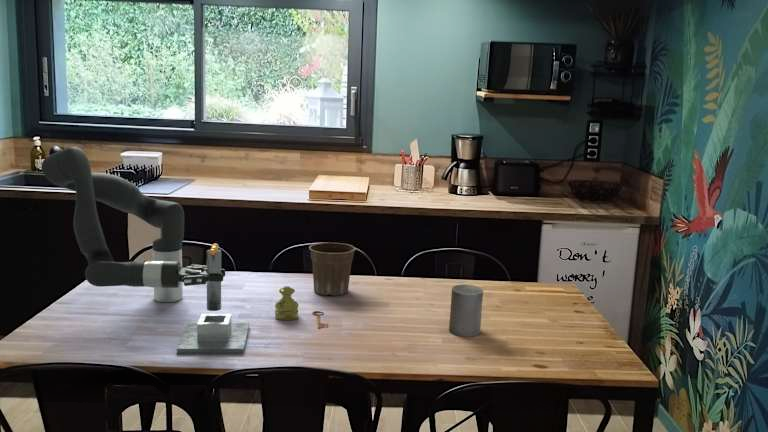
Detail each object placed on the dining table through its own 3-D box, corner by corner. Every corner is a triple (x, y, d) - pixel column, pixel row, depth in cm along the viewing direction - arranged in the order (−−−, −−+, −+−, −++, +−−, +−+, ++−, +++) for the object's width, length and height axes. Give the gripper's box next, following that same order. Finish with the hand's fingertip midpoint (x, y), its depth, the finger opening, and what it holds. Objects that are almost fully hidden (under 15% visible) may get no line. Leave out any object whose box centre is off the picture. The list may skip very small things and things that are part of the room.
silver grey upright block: (208, 303, 213) (208, 242, 209) (222, 303, 213) (222, 242, 210) (204, 313, 204) (204, 249, 201) (219, 313, 205) (219, 250, 201)
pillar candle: (443, 327, 228) (446, 281, 225) (470, 324, 232) (473, 279, 229) (458, 339, 220) (461, 291, 216) (486, 335, 223) (489, 288, 220)
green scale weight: (288, 311, 238) (289, 282, 236) (303, 317, 233) (303, 287, 231) (270, 316, 233) (270, 286, 231) (284, 322, 227) (284, 291, 225)
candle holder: (188, 328, 220) (188, 307, 219) (249, 327, 222) (249, 307, 220) (176, 353, 200) (176, 331, 199) (243, 353, 202) (243, 331, 201)
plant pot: (328, 281, 272) (329, 239, 268) (363, 290, 262) (364, 247, 259) (299, 291, 259) (299, 247, 255) (334, 301, 249) (335, 255, 246)
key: (331, 330, 224) (329, 314, 239) (331, 328, 224) (330, 311, 238) (312, 329, 223) (312, 312, 238) (313, 326, 223) (312, 309, 238)
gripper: (156, 268, 198) (221, 269, 200) (166, 254, 212) (226, 255, 213) (157, 294, 199) (221, 295, 201) (167, 279, 213) (226, 280, 215)
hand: (223, 275), depth 207 cm, fingers closed on silver grey upright block, 4 cm apart
